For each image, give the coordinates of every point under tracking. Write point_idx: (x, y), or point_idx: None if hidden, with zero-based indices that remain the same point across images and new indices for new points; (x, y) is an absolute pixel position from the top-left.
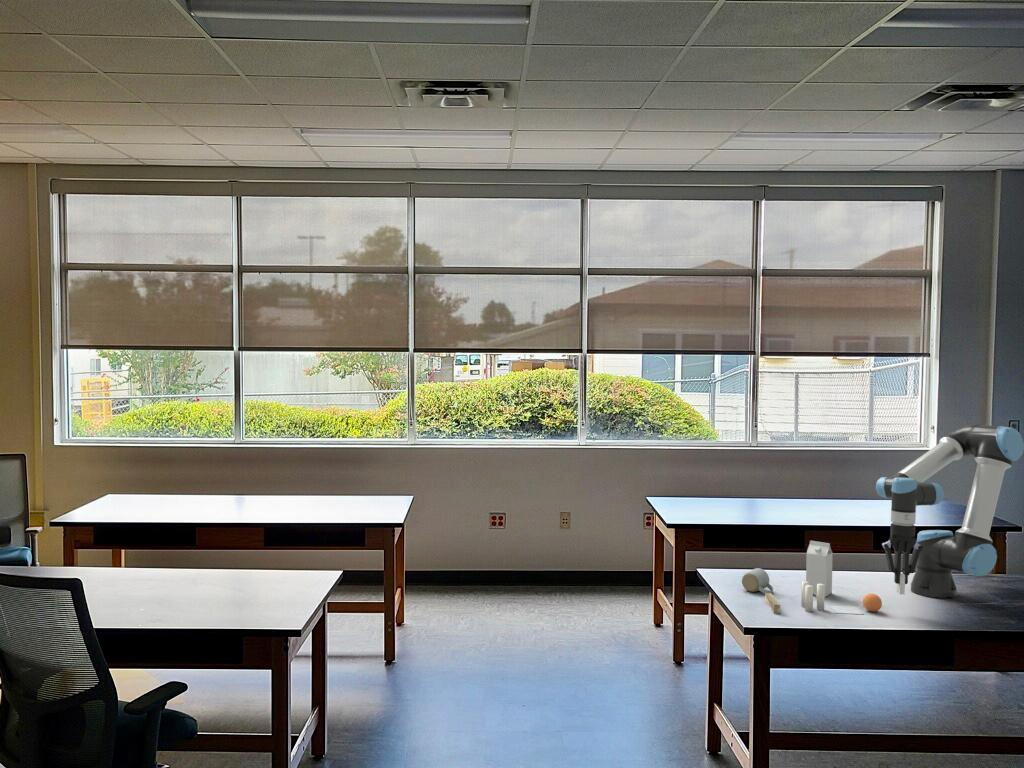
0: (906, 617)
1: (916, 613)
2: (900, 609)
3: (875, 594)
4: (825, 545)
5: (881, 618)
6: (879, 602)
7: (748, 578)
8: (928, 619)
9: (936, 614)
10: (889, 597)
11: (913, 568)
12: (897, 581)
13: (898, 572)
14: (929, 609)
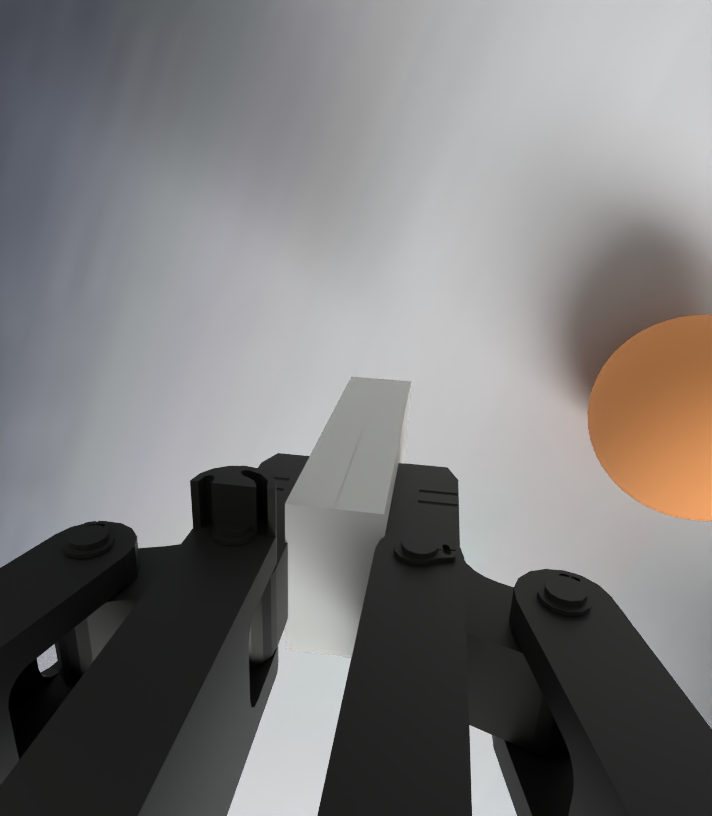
0: (401, 213)
1: (252, 352)
2: None
3: (698, 452)
4: None
5: (697, 146)
6: (672, 337)
7: None
8: (209, 166)
9: (88, 334)
10: (303, 744)
11: (14, 587)
12: (432, 481)
13: (428, 552)
14: (102, 469)
